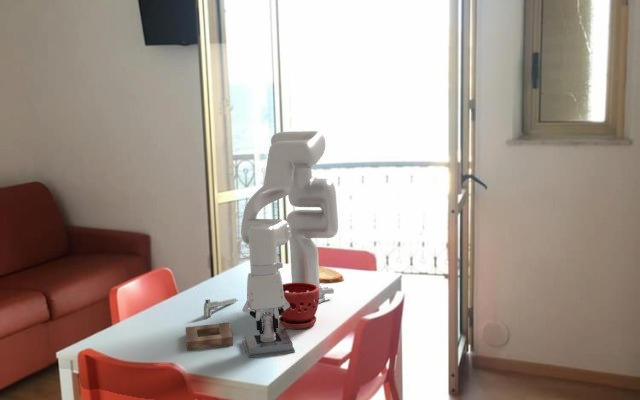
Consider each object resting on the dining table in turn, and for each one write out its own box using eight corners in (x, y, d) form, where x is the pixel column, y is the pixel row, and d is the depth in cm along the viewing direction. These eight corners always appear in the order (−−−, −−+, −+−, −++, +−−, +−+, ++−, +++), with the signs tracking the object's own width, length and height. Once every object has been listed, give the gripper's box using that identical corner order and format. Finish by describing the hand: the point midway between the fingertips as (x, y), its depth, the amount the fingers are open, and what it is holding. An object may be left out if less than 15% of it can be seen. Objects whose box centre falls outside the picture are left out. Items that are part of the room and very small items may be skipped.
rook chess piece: (260, 338, 195) (258, 311, 194) (275, 337, 195) (274, 310, 194) (260, 344, 190) (258, 316, 189) (276, 342, 191) (274, 315, 190)
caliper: (207, 319, 219) (205, 301, 218) (204, 319, 220) (203, 300, 219) (238, 301, 238) (237, 283, 237) (235, 301, 238) (234, 283, 237)
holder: (286, 336, 201) (286, 328, 200) (294, 352, 188) (294, 343, 188) (242, 341, 198) (242, 333, 198) (248, 358, 185) (247, 349, 185)
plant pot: (305, 334, 202) (303, 295, 200) (269, 327, 209) (267, 289, 207) (328, 320, 213) (326, 283, 211) (293, 315, 220) (291, 279, 218)
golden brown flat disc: (344, 283, 255) (344, 273, 254) (296, 285, 255) (296, 275, 254) (342, 271, 273) (342, 262, 272) (297, 273, 273) (297, 263, 272)
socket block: (229, 330, 208) (228, 322, 207) (233, 345, 195) (232, 336, 195) (186, 335, 205) (185, 327, 205) (187, 350, 193) (186, 342, 192)
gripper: (290, 262, 195) (293, 324, 198) (233, 268, 191) (237, 330, 194) (295, 269, 188) (298, 332, 191) (235, 275, 184) (239, 339, 187)
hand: (267, 331), depth 192 cm, fingers closed on rook chess piece, 3 cm apart
